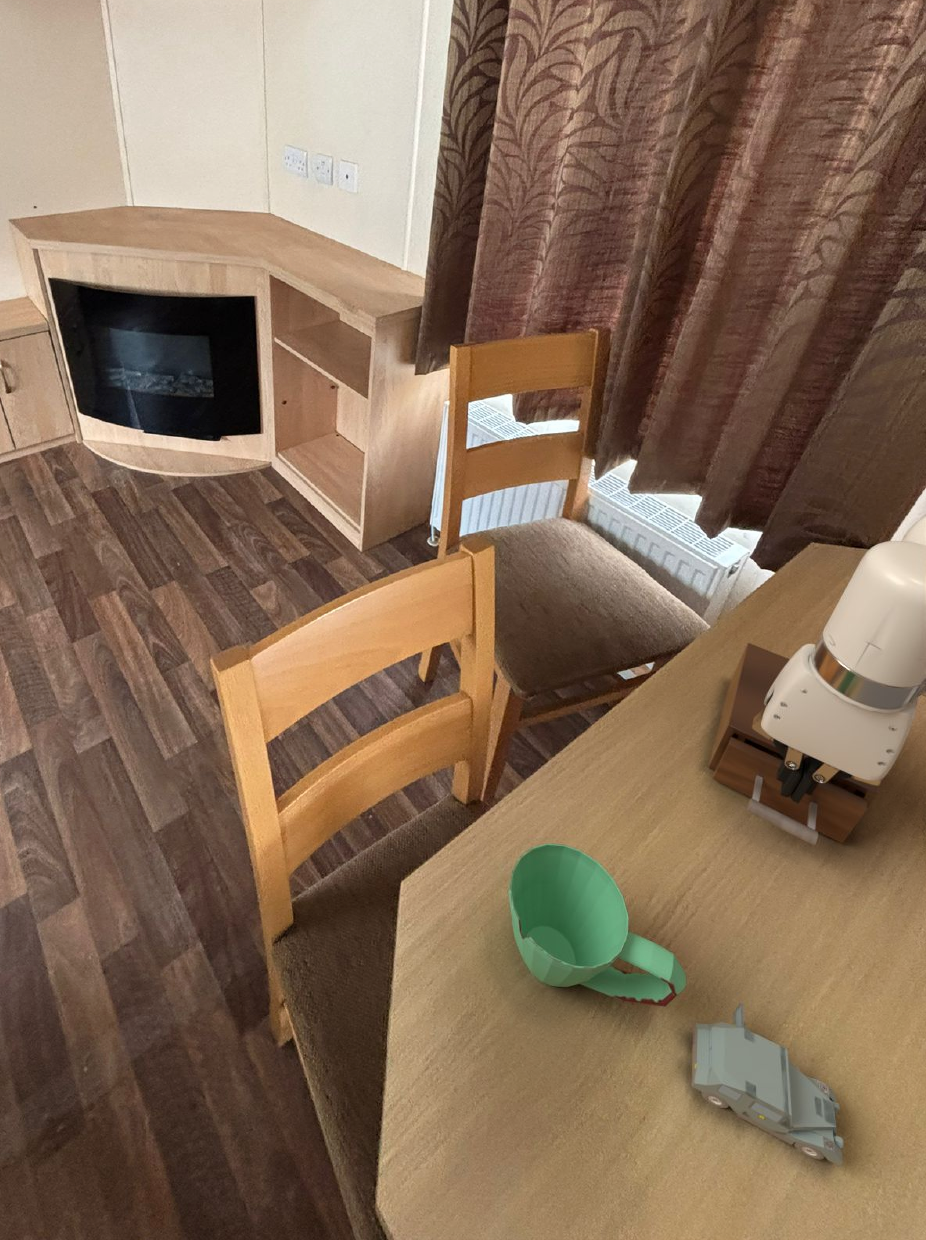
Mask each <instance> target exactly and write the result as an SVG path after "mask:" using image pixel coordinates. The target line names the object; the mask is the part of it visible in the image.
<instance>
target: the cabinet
mask: <svg viewBox="0 0 926 1240" xmlns="http://www.w3.org/2000/svg"><path fill="white" fill-rule="evenodd" d="M790 659H791V658H788V657H785V656H783V655H781V654H778V653H775V652H773V651H770V650H769V649H765V648H763V647H761V646H758V645H755V644H753V643H751V642H748V643H747V644H746V646H745V649H744V651H743V653H742V654H741V658H740V659H739V662H738V664H737V666H736V669H735V670H734V672H733V675H732V677H731V679H730V682H729V684H728V688H727V691H726V694H725V699H724V703H723V708H722V711H721V715H720V720H719V723H718V727H717V731H716V734H715V738H714V742H713V746H712V750H711V755H710V759H709V762H708V765H707V769H708V770H711V771H712V772H714V771H715V769H716V767H717V765H718V763H719V761H720V759H721V757H722V755H723V752H724V750H725V748H726V746H727V744H728V742H729V740H730V738H731V737H733V735H734V733H735V734H737V735H739V736H742V737H744V738H746V739H748V740H750V741H752V742H755V743H757V744H759V745H761V746H763V747H765V748H768V749H770V750H772V751H774V752H776V753H778V754H780V755H781V753H780V752H779V750H778V749H777V748H776V746H775V745H774V743H773V741H772V740H768V739H767V738H765V737H764V736H762V735H761V734H759V733H758V732H756V731H755V730H753V728H752V723H753V718H754V717H755V716H756V715H757V714H758V713H759V712H761V711H762V710H763V709H764V708H765V707H766V705H764V701H765V698H766V695H767V693H768V691H769V689H770V688H771V686H772V684H773V683H774V681H775V680H776V678H777V677H778V675H779V673H780V672H781V671H782V669H783V668H784V666H785V665H786V664H787V663H788V661H789V660H790ZM808 756H809V755H807V754H805V753H804V759H805V757H808ZM834 780H837V781H839V782H841V783H843V784H845V785H847V786H850V787H852V788H854V789H856V792H855V793H854V794H855V795H857V796H859V797H862V798H864V799H866V800H867V809H866V811H865V812H864V814H865V813H866V812H867V810H868V809H869V807H870V806H871V804H872V803H873V802H874V801H875V799H876V798H877V796H878V794H879V785H878V786H875V785H871V784H868V783H865V782H862V781H858V780H855V779H854V778H852V777H851V778H840V779H834ZM864 814H863V815H862V817H863V816H864ZM862 817H861V818H860V819H859V821H860V820H861V819H862ZM859 821H858V822H857V824H858V823H859ZM857 824H856V825H855V826H854V828H855V827H856V826H857ZM854 828H853V829H852V831H853V830H854ZM852 831H851V832H850V834H851V833H852ZM850 834H849V835H850ZM849 835H848V836H847V838H848V837H849Z"/></svg>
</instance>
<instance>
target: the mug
mask: <svg viewBox="0 0 926 1240" xmlns="http://www.w3.org/2000/svg"><path fill="white" fill-rule="evenodd" d="M507 895H508V901H509V908H510V914H511V915H510V917H511V924H512V930H513V937H514V941H515V943H516V946H517V949H518V952H519V953H520V955H521V957H522V960H523V961H524V963H525V965H526V967H527V968H528V970H529V971H530V972H531V974H532V976H534V977H535V979H536V978H537V979H538V981H540V982H541V983H543V984H545V985H547V986H550V987H557V988H558V987H560V988H561V987H562V988H568V987H573V986H576V985H581V986H583V987H586V988H588V989H592V990H594V991H597V992H599V993H602V994H604V995H607V996H609V997H612V998H613V999H617V1000H619V1001H621V1002H627V1003H628V1002H629V1003H634V1004H643V1005H649V1006H658V1007H663V1008H666V1007H667V1005H669V1004H670V1003H671V1002H672V1001H673V1000H674V999H675V998H676V997H677V996H678V995H679V994H681V992H682V991H683V990H684V989H685V988H686V985H687V974H686V972H685V970H684V969H683V967H682V965H681V963H680V962H679V960H678V959H677V957H676V955H674V953H673V952H672V951H670V950H669V949H667V948H665V947H663V946H661V945H659V944H658V943H656V942H655V941H652V940H650V939H648V938H646V937H643V936H641V935H639V934H636V933H635V932H632V931H630V930H629V928H630V914H629V911H628V907H627V905H626V901H625V897H624V894H623V893H622V891H621V889H620V888H619V885H618V884H617V882H616V881H615V880H614V877H613V876H612V875H611V874H610V873H609V872H608V871H607V870H606V869H605V868H604V867H603V865H602V864H601V863H599V862H598V861H597V860H596V859H595V858H593V857H592V856H590V855H588V854H587V853H585V852H584V851H583V850H581V849H578V848H575V847H572V846H569V845H567V844H564V843H549V842H546V843H543V844H540V845H536V846H532V847H531V848H530V849H528V850H527V851H525V852H524V853H523V854H521V855H520V856H519V858H518V860H517V861H516V862H515V865H514V866H513V868H512V870H511V874H510V879H509V886H508V893H507ZM617 959H619V960H621V961H623V962H625V963H627V964H630V965H632V966H634V967H636V968H639V969H640V970H643V971H644V972H647V973H643V972H641V973H640V972H628V971H625V970H622V969H620V968H617V967H614V966H611V965H612V964H614V962H616V961H617Z"/></svg>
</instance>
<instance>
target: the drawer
mask: <svg viewBox="0 0 926 1240" xmlns="http://www.w3.org/2000/svg"><path fill="white" fill-rule="evenodd" d="M783 760H784V758H783V756H782V755H780V754H778V753H776V752H774V751H772V750H770V749H768V748H765V747H763V746H761V745H759V744H757V743H755V742H752V741H750V740H748V739H746V738H744V737H742V736H739V735H737V734H735V733H734V735H733V737H731V738H730V740H729V742H728V744H727V746H726V748H725V750H724V752H723V755H722V757H721V759H720V761H719V763H718V765H717V767H716V769H715V771H713V776H712V780H715V781H717V782H718V783H720V784H723V785H724V786H726V787H728V788H731V789H732V790H735V791H737V792H738V793H741V794H743V795H744V796H746V797H749V800H748V802H747V806H746V812H747V813H749V814H751V815H753V816H755V817H757V818H759V819H761V820H763V821H764V822H767V823H769V824H771V825H772V826H774V827H776V828H779V829H780V830H783V831H784V832H787V833H789V834H790V835H792V836H794V837H796V838H798V839H800V840H802V841H804V842H806V843H807V844H810V845H812V846H816V845H817V843H818V839H819V833H820V834H823V835H824V836H827V837H828V838H829V839H830V838H831V839H833V840H835V841H836V842H838V843H840V844H844V842H845V841H846V839H847V838H848V837H849V836H848V835H850V834H851V833H852V831H853V830H854V829H855V827H856V826H857V824H858V823H859V821H860V820H861V819H862V817H863V816H864V815H865V813H866V812H867V810H868V809H867V800H866V799H864V798H862V797H859V796H857V795H855V794H854V793H855V792H856V789H854V788H852V787H850V786H847V785H845V784H843V783H841V782H839V781H837V780H834V779H829V780H828V781H827V782H826V783H819V784H818V785H817V787H816V789H815V790H814V792H813V793H812V795H811V796H809V795H807V794H804V796H803V797H802V799H801V801H800V802H799V804H798V803H796V802H794V801H792V799H791V798H790V797H791V795H790V797H784V796H782V795H780V792H781V785H782V782H780V781H778V780H776V777H777V772H778V769H779V767H780V765H781V763H782V762H783ZM866 809H867V810H866ZM865 811H866V812H865ZM864 812H865V813H864ZM862 815H863V816H862ZM860 818H861V819H860ZM859 819H860V820H859ZM857 822H858V823H857ZM855 825H856V826H855ZM854 826H855V827H854ZM852 829H853V830H852ZM850 832H851V833H850ZM847 836H848V837H847Z"/></svg>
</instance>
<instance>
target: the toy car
mask: <svg viewBox="0 0 926 1240" xmlns="http://www.w3.org/2000/svg"><path fill="white" fill-rule="evenodd" d="M744 1017H745V1016H744V1003H742V1002H740V1003H739V1005H738V1006H737V1007H736V1009H735V1010H734V1012H733V1013H732V1024H730V1023H727V1022H724V1021H719V1022H712V1023H699V1022H695V1023H694V1025H693V1026H692V1050H691V1051H692V1055H691V1057H692V1058H691V1087H692V1088H693V1089H695V1090H697V1091H699V1092H701V1096H702V1098H703V1099H704V1100H705V1101H706V1102H708V1104H711V1105H713V1106H715V1107H717V1108H720V1109H727V1108H729V1107H730V1108H731V1109H732V1111H733V1112H734V1113H735V1115H737V1117H738V1118H740V1119H742V1120H744V1121H746V1122H748V1123H750V1124H751V1125H754V1126H755V1127H757V1128H759V1129H761V1130H762V1131H764V1132H767V1133H768V1134H770V1135H771V1136H774V1137H776V1138H777V1139H779V1140H781V1141H782V1142H785V1143H787V1144H788V1145H790V1146H794V1147H795V1149H797V1151H798V1152H800V1153H801V1154H803V1155H805V1156H807V1157H809V1158H811V1159H815V1160H824V1159H826V1160H827V1161H829V1162H831V1163H833V1164H835V1166H838V1167H840V1166H841V1165H843V1163H844V1161H843V1153H842V1150H843V1148H844V1145H845V1144H844V1138H843V1137H842V1136H841V1135H837V1120H836V1114H839V1115H840V1110H841V1107H840V1103H839V1102H837V1095H836V1093H835V1091H834V1090H833V1089H832V1088H831V1086H830V1085H829V1084H828V1083H825V1082H823V1081H821V1080H819V1079H817V1078H813V1077H810V1076H806V1075H805V1074H804V1073H803V1072H802V1071H801V1070H800V1069H799V1068H798V1067H797V1066H796V1065H794V1063H793V1062H791V1060H789V1053H788V1052H789V1051H788V1048H786V1047H784V1046H781V1045H779V1044H777V1043H776V1042H773V1041H772V1040H769V1039H767V1038H765V1037H764V1036H761V1035H760V1034H757V1033H755V1032H753V1031H751V1030H749V1029H747V1028H746V1022H745V1021H744Z"/></svg>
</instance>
